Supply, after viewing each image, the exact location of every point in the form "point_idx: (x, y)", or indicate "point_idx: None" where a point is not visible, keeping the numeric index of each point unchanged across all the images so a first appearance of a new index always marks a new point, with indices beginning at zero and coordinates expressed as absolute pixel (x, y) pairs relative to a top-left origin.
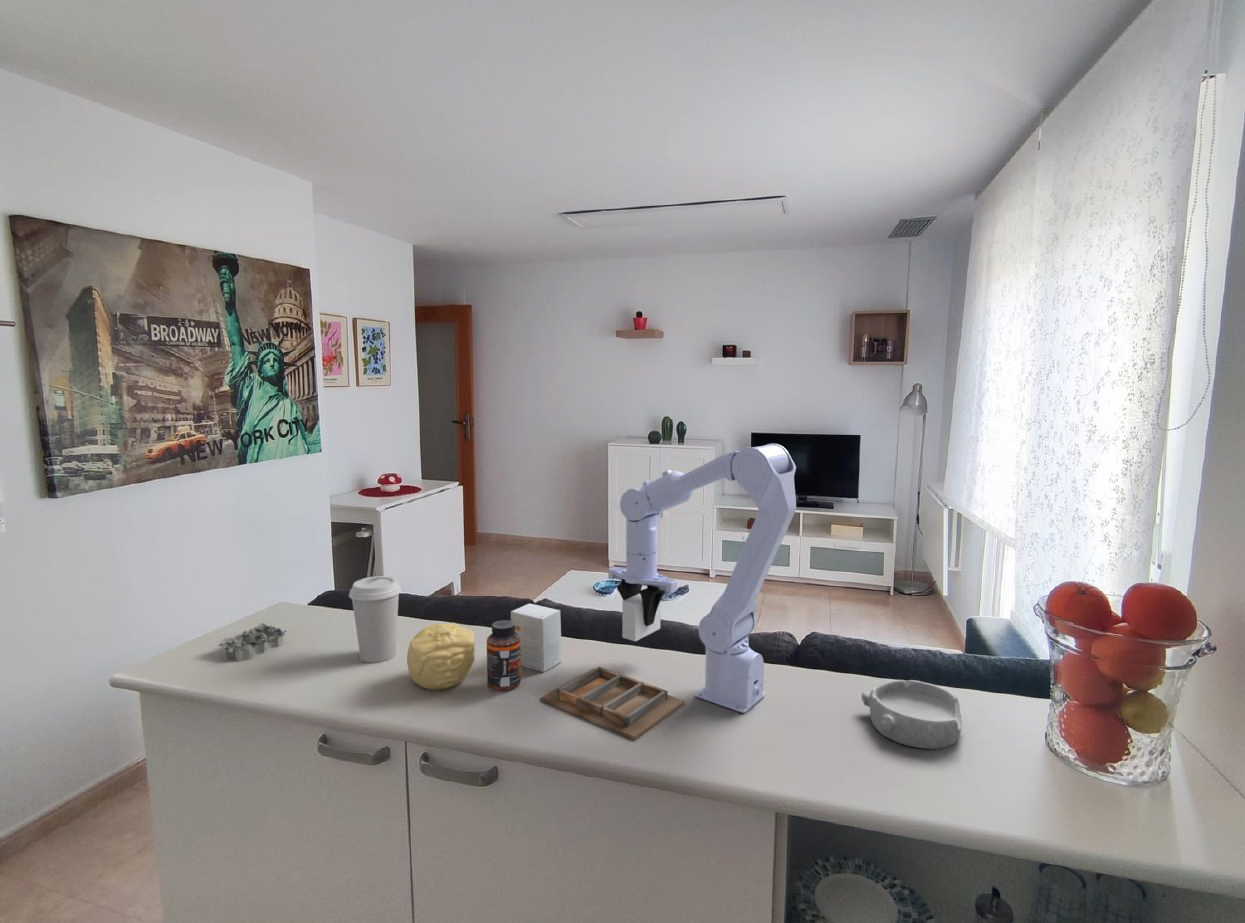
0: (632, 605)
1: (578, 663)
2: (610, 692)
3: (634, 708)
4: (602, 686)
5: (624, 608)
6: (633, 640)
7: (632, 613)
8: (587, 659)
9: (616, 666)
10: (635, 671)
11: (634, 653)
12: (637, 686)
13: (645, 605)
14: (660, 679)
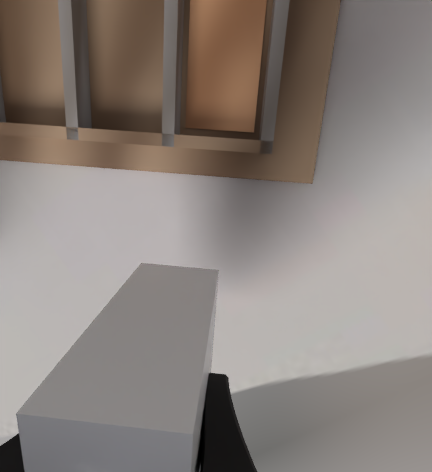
0: (65, 399)
1: (389, 203)
2: (160, 62)
3: (31, 13)
4: (165, 16)
5: (179, 374)
6: (150, 264)
7: (101, 347)
8: (377, 244)
9: (265, 251)
10: (196, 254)
11: (266, 350)
12: (66, 99)
13: (13, 463)
14: (108, 249)
